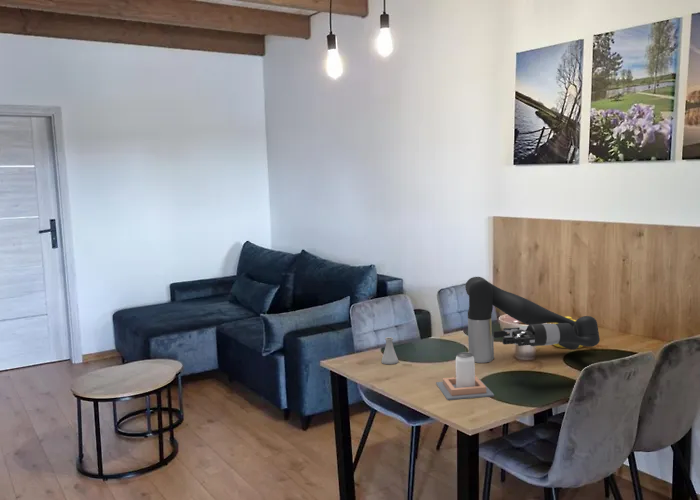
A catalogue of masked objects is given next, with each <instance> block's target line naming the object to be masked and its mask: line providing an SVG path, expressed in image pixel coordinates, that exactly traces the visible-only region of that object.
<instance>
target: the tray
mask: <svg viewBox="0 0 700 500" xmlns="http://www.w3.org/2000/svg"><path fill="white" fill-rule="evenodd" d="M435 385H436V386H437V387H438V389H439V390H440V391H441V393H442V394H443V396H444V397H445V398H446V400H447V401H453V400H464V399H466V400H467V399H476V398H477V399H479V398H489V397H490V398H491V397H495V394H494V393H493V391H492V390H490V388H489V387H487V385H486V384H485V383H484V382H483V381H482V380H481V378H479V377H477V375H475V387H463V388H457V387H456V376H455V377H443V378H442V381H436V382H435Z"/></svg>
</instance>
